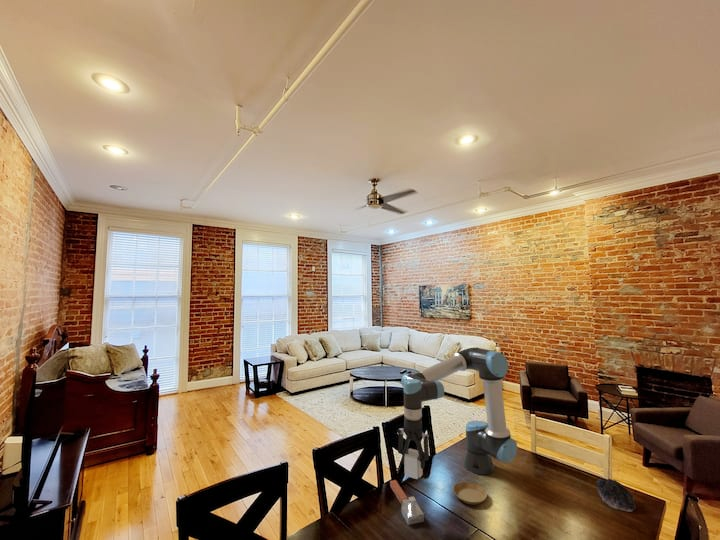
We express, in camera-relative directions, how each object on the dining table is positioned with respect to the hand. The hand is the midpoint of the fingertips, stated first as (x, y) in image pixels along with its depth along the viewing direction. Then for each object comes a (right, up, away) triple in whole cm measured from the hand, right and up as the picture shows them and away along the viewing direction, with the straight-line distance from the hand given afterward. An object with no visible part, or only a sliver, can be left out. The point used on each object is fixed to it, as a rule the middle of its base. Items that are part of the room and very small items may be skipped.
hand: (413, 473), depth 134 cm
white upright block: (0, 0, 0) cm, 0 cm away
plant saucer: (+28, -19, +12) cm, 36 cm away
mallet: (-3, -18, +8) cm, 20 cm away
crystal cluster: (+92, -18, +7) cm, 94 cm away
